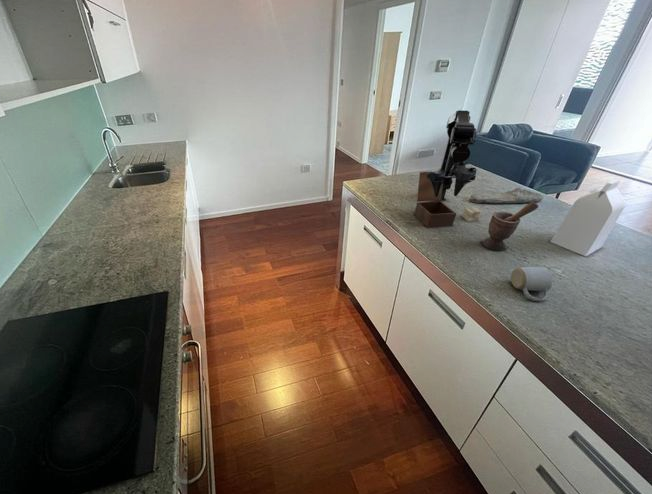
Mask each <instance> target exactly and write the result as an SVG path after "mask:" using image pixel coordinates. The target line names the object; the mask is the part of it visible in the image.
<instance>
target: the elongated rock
mask: <svg viewBox="0 0 652 494" xmlns="http://www.w3.org/2000/svg"><path fill="white" fill-rule="evenodd" d="M542 200H544V195H543V194H541V193H538V192H534V191H532V190H529V189H526V188H525V189H524V188H521V187H516V188H514V189H512V190H507V191H505V192H485V193H484V192H481V193H478V192H477V193H473V194H471V195H470V201H471V202H472V203H475V204H509V205H510V204H516V203H517V204H525V203H527V204H529V203H531V202H535V203H537V202H541V201H542Z"/></svg>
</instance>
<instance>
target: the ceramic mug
mask: <svg viewBox="0 0 652 494" xmlns="http://www.w3.org/2000/svg"><path fill="white" fill-rule="evenodd" d="M510 281H511V284H512V286H513V287H514V288H516V289H517V290H520V291H522V292H523V294H524V295H525V297H526V298H527V299H528V300H531V301H533V302H542V301H544V300H546V298H547V297H548V291H550V289H551V288H552V286H553V275H552V273H551V271H550V270H549V269H548V268H547V267H546V266H545V267H544V266H530V267H529V266H523V267H521V266H520V267H516V268H514V269H513V270H512V271H511V274H510ZM529 291H531V292H542V294H543V297H542V298H537V297H534V296H533V295H531V294H530V293H529Z"/></svg>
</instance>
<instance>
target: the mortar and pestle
mask: <svg viewBox="0 0 652 494" xmlns="http://www.w3.org/2000/svg"><path fill="white" fill-rule="evenodd" d="M538 208H539V204H538V203H537V202H531V203H527V204H526V205H525V206H523V207H522V208H521V209H520V210H518V211H517V212H516V213H511V212H507V211H494V212H493V213H492V216H491V218H490V220H489V223H488V230H487V232H488V235H489V237H486V238H485V239H483V241H482V245H483V246H484V247H485V248H487V249H488V250H492V251H499V252H501V251H504V250H505V248H506V243H505V242H504V241H505V240H508V239H509V238H510V237H511V236H512V235H513V234H514V232H516V230H517V228H518V227H519V224H520V223H521V218H523V217H524V216H526V215H528V214H530V213H532V212H534V211H536V210H537V209H538Z"/></svg>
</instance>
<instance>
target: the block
mask: <svg viewBox="0 0 652 494" xmlns="http://www.w3.org/2000/svg"><path fill="white" fill-rule="evenodd" d="M481 213H482V212H481V210H479V209H478V208H476V207H464V210H463V213H462V216H461V218H463V219H464V220H465V221H467V222H478V221H479V219H480V216H481Z"/></svg>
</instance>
